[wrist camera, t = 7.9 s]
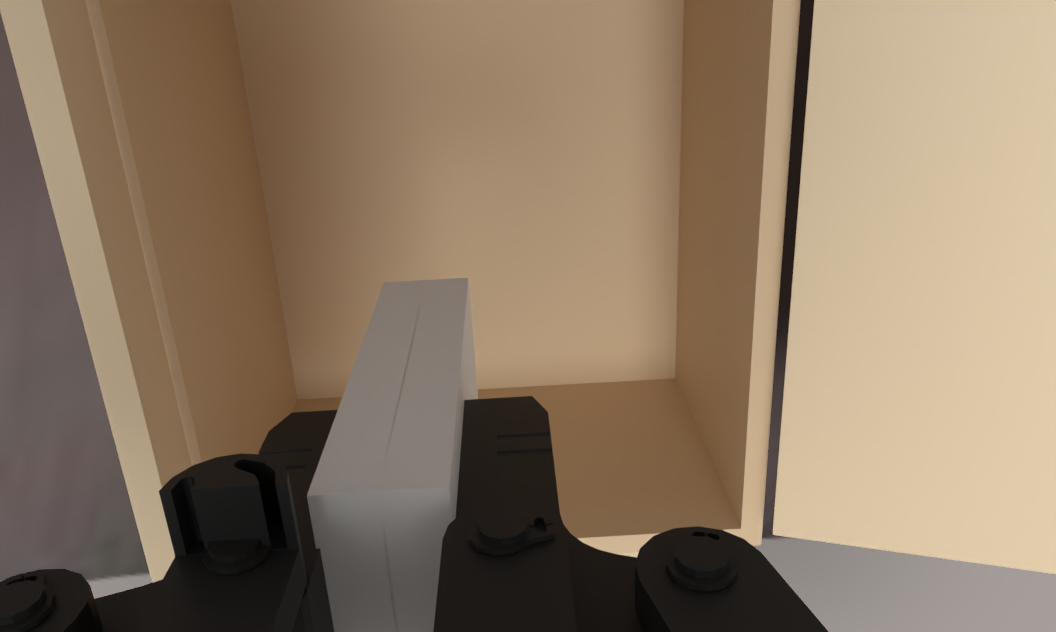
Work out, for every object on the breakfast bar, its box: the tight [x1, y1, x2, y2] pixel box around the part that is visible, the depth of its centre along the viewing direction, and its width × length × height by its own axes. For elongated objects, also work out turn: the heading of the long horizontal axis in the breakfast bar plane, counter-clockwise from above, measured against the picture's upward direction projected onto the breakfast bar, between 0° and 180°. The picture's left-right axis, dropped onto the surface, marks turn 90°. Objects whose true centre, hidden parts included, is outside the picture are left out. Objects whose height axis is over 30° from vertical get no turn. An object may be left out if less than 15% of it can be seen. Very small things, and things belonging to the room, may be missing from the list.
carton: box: [85, 0, 801, 557], centre depth 25 cm, size 19×16×10 cm
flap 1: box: [0, 0, 192, 583], centre depth 16 cm, size 16×1×7 cm, turn 3°
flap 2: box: [773, 0, 1056, 574], centre depth 19 cm, size 16×1×7 cm
